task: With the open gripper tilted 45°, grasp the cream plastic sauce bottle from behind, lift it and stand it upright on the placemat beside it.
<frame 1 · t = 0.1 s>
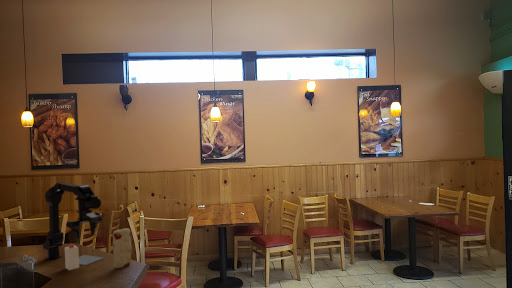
hand: (85, 236, 203), 15 cm above the table, tool pointing down, fingers open, 9 cm apart
placemat: (85, 260, 208), on the table
sauce bottle: (72, 268, 197), on the table
food model: (123, 267, 195), on the table
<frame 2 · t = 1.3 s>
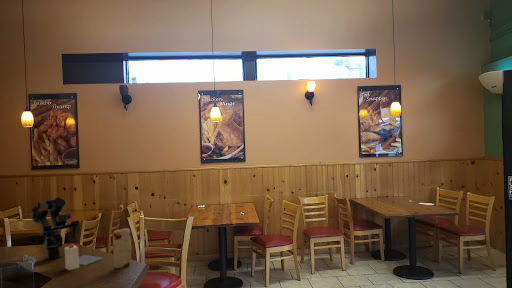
hand: (65, 240, 202), 13 cm above the table, tool tilted 45°, fingers open, 9 cm apart
nothing on the table moved.
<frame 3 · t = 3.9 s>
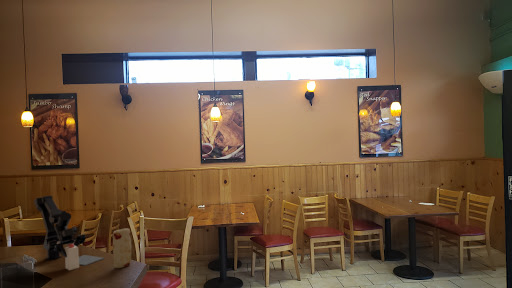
hand: (71, 255, 196), 7 cm above the table, tool tilted 45°, fingers closed on sauce bottle, 5 cm apart
sauce bottle: (72, 267, 197), on the table, touching gripper
everything else where it was.
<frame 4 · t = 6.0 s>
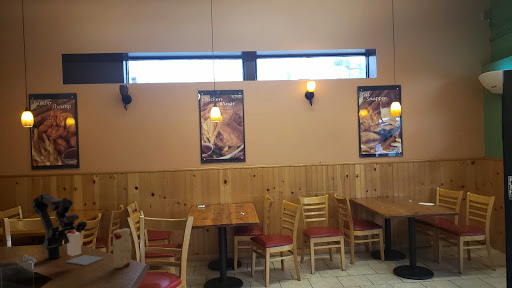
hand: (73, 241, 198), 13 cm above the table, tool tilted 45°, fingers closed on sauce bottle, 5 cm apart
sauce bottle: (74, 253, 198), point 7 cm above the table, touching gripper
everything else where it was.
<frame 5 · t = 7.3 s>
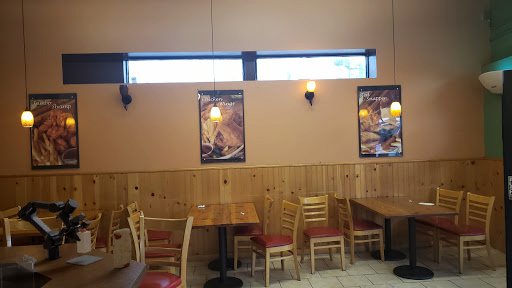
hand: (83, 239, 208), 12 cm above the table, tool tilted 45°, fingers closed on sauce bottle, 5 cm apart
sauce bottle: (84, 251, 208), point 5 cm above the table, touching gripper
everything else where it was.
when the fingers open (8 cm above the table, at t = 8.4 s): sauce bottle drops 1 cm, resting on placemat.
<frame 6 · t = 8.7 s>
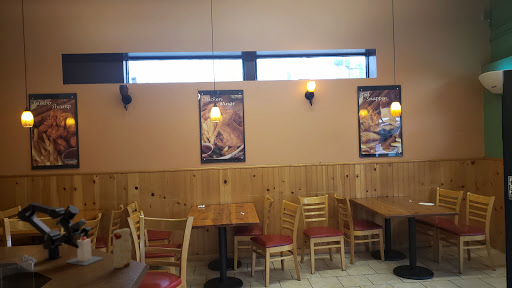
hand: (84, 245, 208), 8 cm above the table, tool tilted 45°, fingers open, 8 cm apart
sauce bottle: (84, 259, 208), point 1 cm above the table, touching placemat
everything else where it was.
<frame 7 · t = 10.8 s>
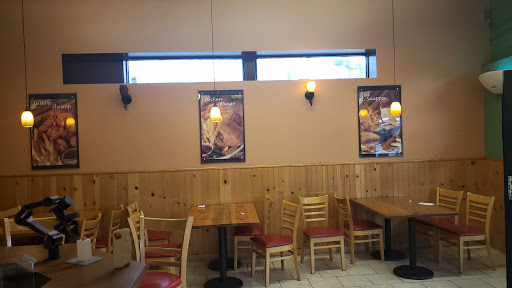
hand: (75, 237, 211), 13 cm above the table, tool tilted 35°, fingers open, 9 cm apart
nothing on the table moved.
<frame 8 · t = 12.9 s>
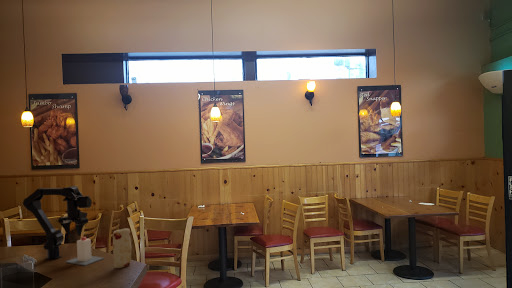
hand: (73, 235, 215), 13 cm above the table, tool pointing down, fingers open, 9 cm apart
nothing on the table moved.
at the end: sauce bottle inside the target area on the placemat (0.2 cm from its centre), point 0.6 cm above the placemat's base; sauce bottle tilted 0°; the gripper is holding nothing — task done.
